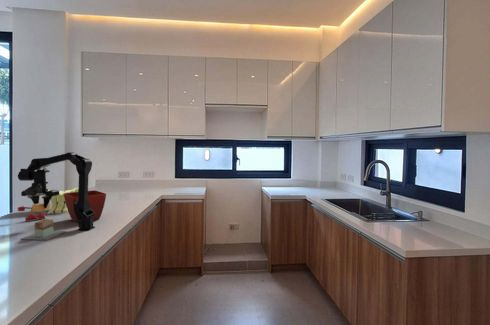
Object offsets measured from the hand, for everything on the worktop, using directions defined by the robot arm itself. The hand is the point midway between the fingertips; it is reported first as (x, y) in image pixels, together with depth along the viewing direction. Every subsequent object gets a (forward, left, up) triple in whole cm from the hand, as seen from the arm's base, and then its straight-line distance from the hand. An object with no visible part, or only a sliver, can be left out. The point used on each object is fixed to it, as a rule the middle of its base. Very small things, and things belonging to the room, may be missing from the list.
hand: (41, 208), depth 167 cm
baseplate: (-11, +12, -12) cm, 21 cm away
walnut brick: (-11, +12, -8) cm, 18 cm away
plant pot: (-12, -22, -12) cm, 28 cm away
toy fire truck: (+19, -16, -12) cm, 27 cm away
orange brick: (0, 0, -1) cm, 1 cm away
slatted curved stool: (+21, -44, -12) cm, 50 cm away
